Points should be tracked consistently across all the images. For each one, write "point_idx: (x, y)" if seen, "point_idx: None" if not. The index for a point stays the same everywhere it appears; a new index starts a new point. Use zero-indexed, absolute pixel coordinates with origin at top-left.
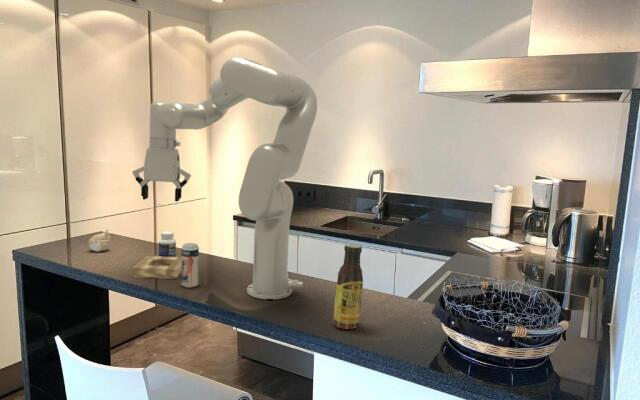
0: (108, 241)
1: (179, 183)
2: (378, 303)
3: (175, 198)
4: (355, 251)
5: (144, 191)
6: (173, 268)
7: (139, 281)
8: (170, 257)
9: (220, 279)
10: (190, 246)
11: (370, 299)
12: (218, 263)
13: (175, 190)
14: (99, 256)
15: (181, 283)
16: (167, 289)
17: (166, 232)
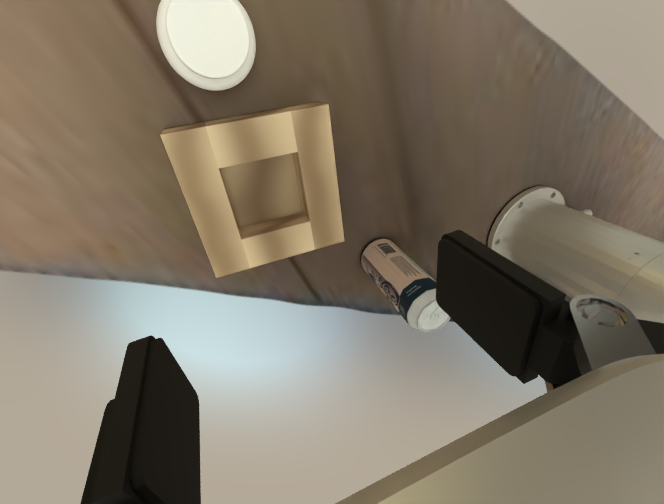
0: None
1: (615, 355)
2: (655, 210)
3: (454, 316)
4: None
5: (193, 481)
6: (331, 236)
7: (253, 277)
8: (266, 125)
9: (432, 189)
10: (437, 323)
11: (654, 197)
12: (406, 21)
13: (506, 366)
14: None
15: (365, 270)
16: (340, 291)
17: (197, 23)
